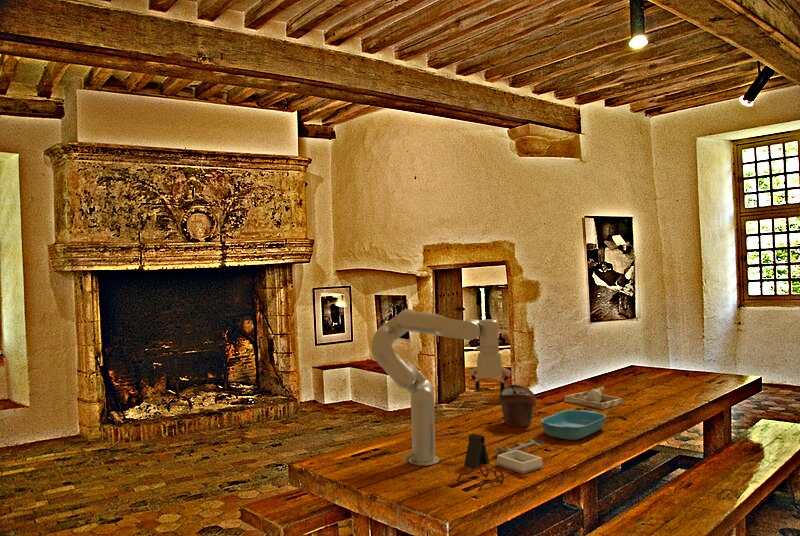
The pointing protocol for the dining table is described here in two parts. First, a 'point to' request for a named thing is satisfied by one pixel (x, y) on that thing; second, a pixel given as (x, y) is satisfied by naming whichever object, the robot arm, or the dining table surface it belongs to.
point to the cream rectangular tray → (519, 461)
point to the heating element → (520, 446)
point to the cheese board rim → (577, 400)
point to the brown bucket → (517, 405)
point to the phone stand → (476, 451)
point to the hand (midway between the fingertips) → (490, 391)
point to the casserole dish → (573, 424)
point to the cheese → (594, 395)
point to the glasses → (485, 475)
